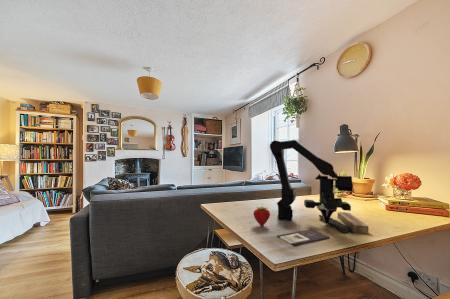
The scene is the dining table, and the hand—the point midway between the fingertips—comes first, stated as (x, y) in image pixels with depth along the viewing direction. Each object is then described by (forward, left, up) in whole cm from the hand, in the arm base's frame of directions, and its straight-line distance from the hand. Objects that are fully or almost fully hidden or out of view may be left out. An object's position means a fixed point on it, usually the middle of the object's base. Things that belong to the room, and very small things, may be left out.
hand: (326, 223), depth 95 cm
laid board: (+12, +3, -1) cm, 12 cm away
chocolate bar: (-13, -18, -1) cm, 22 cm away
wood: (+4, +1, -1) cm, 5 cm away
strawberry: (-29, -9, -1) cm, 30 cm away
